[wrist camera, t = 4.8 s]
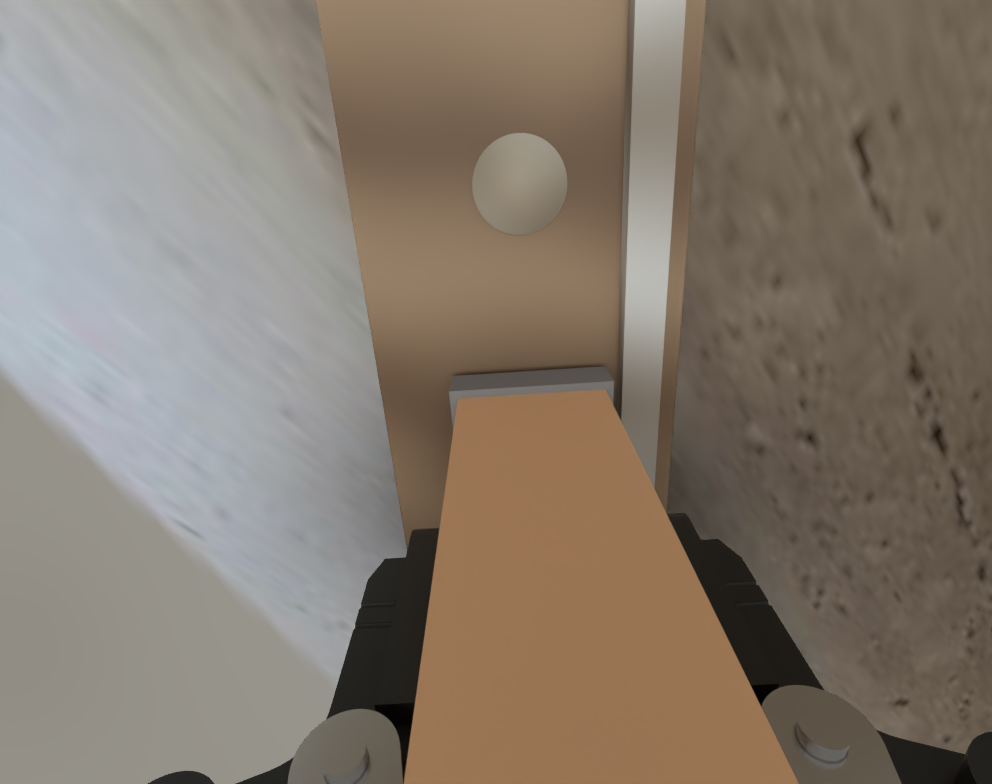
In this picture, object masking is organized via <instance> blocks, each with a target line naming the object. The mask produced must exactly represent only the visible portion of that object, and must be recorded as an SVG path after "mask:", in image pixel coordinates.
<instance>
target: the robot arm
mask: <svg viewBox="0 0 992 784" xmlns="http://www.w3.org/2000/svg"><path fill="white" fill-rule="evenodd" d="M667 516H668V518H669V520H670V522H671V524H672V526H673V528H674V530H675V532H676V534H677V536H678V538H679V540H680V542H681V544H682V546H683V548H684V550H685V552H686V555H687V557H688V559H689V561H690V563H691V565H692V567H693V569H694V571H695V573H696V575H697V577H698V579H699V581H700V583H701V585H702V587H703V589H704V591H705V593H706V595H707V597H708V599H709V601H710V603H711V606H712V608H713V610H714V612H715V614H716V616H717V618H718V620H719V622H720V624H721V626H722V628H723V630H724V632H725V634H726V636H727V638H728V640H729V642H730V644H731V646H732V648H733V650H734V652H735V655H736V657H737V659H738V661H739V663H740V665H741V667H742V669H743V671H744V673H745V675H746V677H747V679H748V681H749V683H750V685H751V687H752V689H753V691H754V693H755V695H756V697H757V699H758V701H759V703H760V706H761V708H762V710H763V712H764V714H765V716H766V718H767V720H768V722H769V724H770V726H771V728H772V730H773V732H774V734H775V736H776V738H777V740H778V742H779V744H780V746H781V748H782V750H783V752H784V754H785V757H786V759H787V761H788V763H789V765H790V767H791V769H792V771H793V773H794V775H795V777H796V779H797V781H798V783H799V784H992V732H987V733H984V734H981V735H979V736H977V737H976V738H975V739H974V740H972V742H971V744H970V746H969V747H968V750H967V752H966V754H961V753H957V752H953V751H949V750H945V749H941V748H937V747H933V746H929V745H924V744H920V743H916V742H912V741H908V740H904V739H900V738H897V737H894V736H890V735H888V734H885V733H883V732H880V731H878V730H876V729H875V727H874V726H873V725H872V724H871V723H870V722H869V720H868V719H867V718H866V717H865V716H864V715H863V714H861V713H860V712H859V711H858V710H857V709H856V708H854V707H853V706H852V705H850V704H849V703H848V702H846V701H844V700H843V699H841V698H839V697H837V696H836V695H833V694H831V693H829V692H827V691H825V690H824V689H823V687H822V686H821V685H820V683H819V682H818V680H817V678H816V677H815V675H814V674H813V672H812V670H811V669H810V667H809V666H808V664H807V662H806V661H805V659H804V658H803V656H802V654H801V653H800V651H799V650H798V648H797V646H796V645H795V643H794V642H793V640H792V638H791V637H790V635H789V633H788V632H787V630H786V629H785V627H784V625H783V624H782V622H781V621H780V619H779V617H778V616H777V614H776V613H775V611H774V609H773V608H772V606H771V605H770V606H769V604H768V600H767V598H766V597H765V595H764V593H763V592H762V590H761V588H760V587H759V586H757V585H756V580H755V579H754V577H753V576H752V574H751V572H750V571H749V569H748V568H747V566H746V564H745V563H744V561H743V560H742V558H741V557H740V556H739V555H737V554H736V553H735V552H734V551H732V550H731V549H730V548H729V547H727V546H726V545H725V544H724V543H722V542H721V541H720V540H718V539H710V540H700V538H699V536H698V534H697V532H696V530H695V529H694V527H693V525H692V523H691V521H690V519H689V518H688V516H687V515H686V514H685V513H675V514H667ZM439 529H440V528H427V529H413V530H412V532H411V536H410V541H409V545H408V550H407V555H406V558H391V559H385V560H384V561H383V562H382V563H381V565H380V566H379V567H378V568H377V570H376V571H375V572H374V573H373V574H372V576H371V577H370V578H369V579H368V582H367V585H366V589H365V592H364V596H363V599H362V602H361V608H360V609H359V613H358V616H357V620H356V623H355V629H354V630H353V633H352V637H351V640H350V643H349V647H348V650H347V654H346V657H345V661H344V664H343V667H342V671H341V674H340V678H339V681H338V684H337V688H336V691H335V695H334V698H333V702H332V705H331V708H330V712H329V714H328V717H327V719H326V720H325V721H324V722H322V723H321V724H319V725H318V726H317V727H316V728H315V729H314V730H313V731H312V732H311V733H310V734H309V735H308V736H307V737H306V738H305V739H304V741H303V742H302V744H301V745H300V746H299V748H298V750H297V752H296V754H295V756H294V757H293V758H292V759H291V760H289V761H287V762H286V763H284V764H282V765H281V766H279V767H276V768H274V769H272V770H270V771H268V772H265V773H263V774H260V775H257V776H255V777H252V778H250V779H247V780H244V781H242V782H239V783H237V784H404V778H405V771H406V764H407V757H408V749H409V742H410V735H411V728H412V721H413V714H414V707H415V700H416V692H417V685H418V678H419V671H420V664H421V657H422V650H423V643H424V636H425V628H426V621H427V614H428V607H429V600H430V593H431V586H432V579H433V572H434V564H435V557H436V550H437V543H438V536H439ZM148 784H214V783H213V782H212V780H211V779H210V778H209V777H207V776H205V775H204V774H202V773H199V772H195V771H182V772H175V773H172V774H168V775H165V776H163V777H160V778H158V779H156V780H154V781H152V782H150V783H148Z"/></svg>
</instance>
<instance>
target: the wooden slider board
mask: <svg viewBox="0 0 992 784" xmlns="http://www.w3.org/2000/svg"><path fill="white" fill-rule="evenodd" d="M316 5H317V11H318V17H319V23H320V29H321V35H322V41H323V47H324V53H325V59H326V65H327V71H328V77H329V83H330V89H331V95H332V101H333V107H334V113H335V119H336V125H337V131H338V137H339V143H340V149H341V155H342V161H343V167H344V173H345V179H346V185H347V191H348V197H349V203H350V209H351V215H352V221H353V227H354V233H355V239H356V245H357V251H358V257H359V263H360V269H361V275H362V281H363V287H364V293H365V299H366V305H367V311H368V317H369V323H370V329H371V335H372V341H373V347H374V353H375V359H376V365H377V371H378V377H379V383H380V389H381V395H382V401H383V407H384V413H385V419H386V425H387V431H388V437H389V443H390V449H391V455H392V461H393V467H394V473H395V479H396V485H397V491H398V497H399V503H400V509H401V514H402V520H403V526H404V532H405V538H406V544H407V550H408V545H409V541H410V536H411V532H412V530H413V529H427V528H440V522H441V515H442V507H443V500H444V493H445V486H446V479H447V472H448V465H449V458H450V451H451V443H452V436H453V425H452V416H451V407H450V398H449V388H450V382H451V377H452V376H460V375H476V374H491V373H507V372H523V371H539V370H554V369H570V368H586V367H602V366H606V367H607V369H608V371H609V373H610V375H611V377H612V378H613V380H614V398H613V406H614V408H615V410H616V412H617V414H618V416H619V418H620V420H621V422H622V424H623V426H624V428H625V430H626V432H627V434H628V436H629V438H630V440H631V442H632V444H633V446H634V448H635V450H636V453H637V455H638V457H639V459H640V461H641V463H642V465H643V467H644V469H645V471H646V473H647V475H648V477H649V479H650V481H651V483H652V485H653V487H654V489H655V491H656V493H657V495H658V497H659V499H660V501H661V504H662V506H663V508H664V510H665V512H667V499H668V486H669V473H670V460H671V447H672V434H673V421H674V408H675V396H676V383H677V370H678V357H679V344H680V331H681V318H682V305H683V292H684V280H685V267H686V254H687V241H688V228H689V215H690V202H691V189H692V176H693V164H694V151H695V138H696V125H697V112H698V99H699V86H700V73H701V60H702V48H703V35H704V22H705V9H706V0H316Z"/></svg>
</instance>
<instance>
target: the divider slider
mask: <svg viewBox="0 0 992 784" xmlns="http://www.w3.org/2000/svg"><path fill="white" fill-rule="evenodd" d="M449 398H450V407H451V416H452V425H453V436H452V443H451V451H450V458H449V465H448V472H447V479H446V486H445V493H444V500H443V507H442V515H441V522H440V529H439V536H438V543H437V550H436V557H435V564H434V572H433V579H432V586H431V593H430V600H429V607H428V614H427V621H426V628H425V636H424V643H423V650H422V657H421V664H420V671H419V678H418V685H417V692H416V700H415V707H414V714H413V721H412V728H411V735H410V742H409V749H408V757H407V764H406V771H405V778H404V784H799V783H798V781H797V779H796V777H795V775H794V773H793V771H792V769H791V767H790V765H789V763H788V761H787V759H786V757H785V754H784V752H783V750H782V748H781V746H780V744H779V742H778V740H777V738H776V736H775V734H774V732H773V730H772V728H771V726H770V724H769V722H768V720H767V718H766V716H765V714H764V712H763V710H762V708H761V706H760V703H759V701H758V699H757V697H756V695H755V693H754V691H753V689H752V687H751V685H750V683H749V681H748V679H747V677H746V675H745V673H744V671H743V669H742V667H741V665H740V663H739V661H738V659H737V657H736V655H735V652H734V650H733V648H732V646H731V644H730V642H729V640H728V638H727V636H726V634H725V632H724V630H723V628H722V626H721V624H720V622H719V620H718V618H717V616H716V614H715V612H714V610H713V608H712V606H711V603H710V601H709V599H708V597H707V595H706V593H705V591H704V589H703V587H702V585H701V583H700V581H699V579H698V577H697V575H696V573H695V571H694V569H693V567H692V565H691V563H690V561H689V559H688V557H687V555H686V552H685V550H684V548H683V546H682V544H681V542H680V540H679V538H678V536H677V534H676V532H675V530H674V528H673V526H672V524H671V522H670V520H669V518H668V516H667V514H666V512H665V510H664V508H663V506H662V504H661V501H660V499H659V497H658V495H657V493H656V491H655V489H654V487H653V485H652V483H651V481H650V479H649V477H648V475H647V473H646V471H645V469H644V467H643V465H642V463H641V461H640V459H639V457H638V455H637V453H636V450H635V448H634V446H633V444H632V442H631V440H630V438H629V436H628V434H627V432H626V430H625V428H624V426H623V424H622V422H621V420H620V418H619V416H618V414H617V412H616V410H615V408H614V406H613V398H614V380H613V378H612V377H611V375H610V373H609V371H608V369H607V367H606V366H602V367H586V368H570V369H554V370H539V371H523V372H507V373H491V374H476V375H460V376H452V377H451V382H450V388H449Z"/></svg>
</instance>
